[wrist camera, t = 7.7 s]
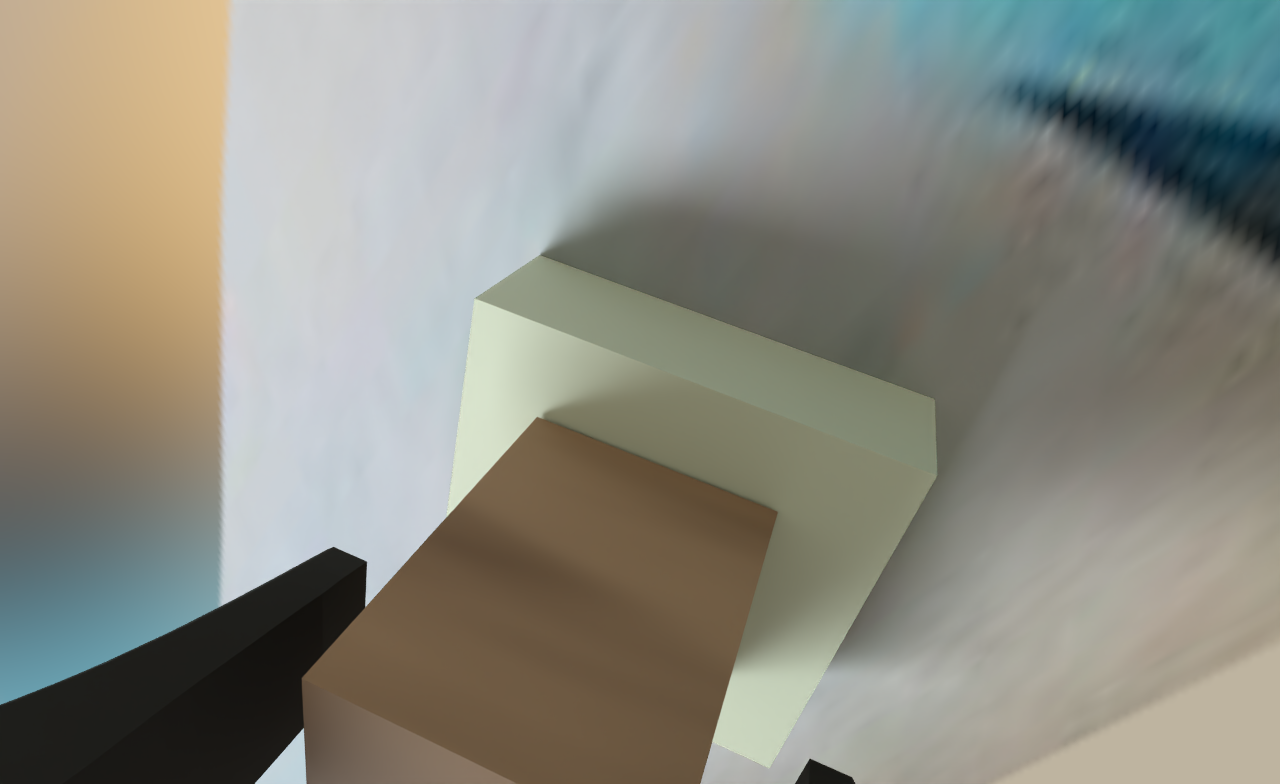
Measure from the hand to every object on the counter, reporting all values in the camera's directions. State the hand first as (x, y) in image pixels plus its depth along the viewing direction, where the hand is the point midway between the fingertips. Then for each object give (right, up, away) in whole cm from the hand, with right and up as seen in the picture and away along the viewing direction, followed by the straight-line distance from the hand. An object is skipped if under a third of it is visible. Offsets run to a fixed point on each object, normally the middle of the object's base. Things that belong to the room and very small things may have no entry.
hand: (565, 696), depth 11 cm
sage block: (+2, +3, +5) cm, 6 cm away
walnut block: (+1, +2, +3) cm, 3 cm away
